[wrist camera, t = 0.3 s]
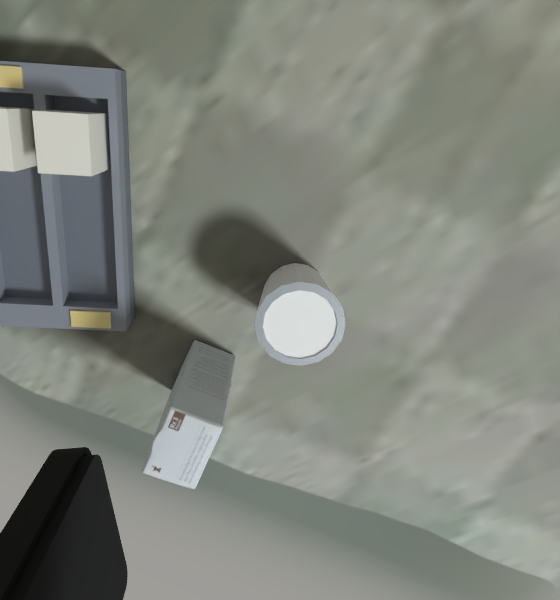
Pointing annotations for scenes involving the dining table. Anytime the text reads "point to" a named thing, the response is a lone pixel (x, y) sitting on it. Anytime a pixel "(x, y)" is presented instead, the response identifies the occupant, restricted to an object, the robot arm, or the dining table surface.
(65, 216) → the switch bank
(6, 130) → the tab middle
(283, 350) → the grey cylinder
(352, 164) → the dining table surface
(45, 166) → the tab inner
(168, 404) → the skincare box
